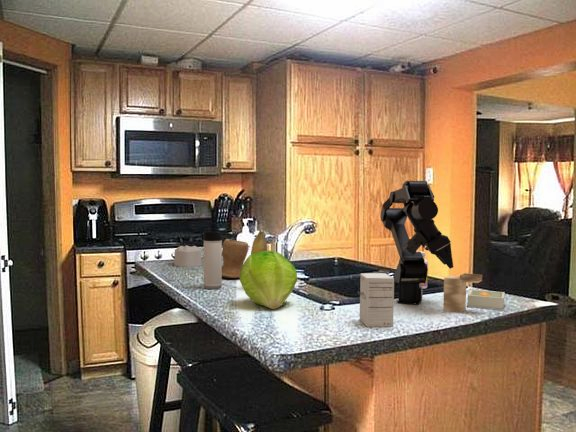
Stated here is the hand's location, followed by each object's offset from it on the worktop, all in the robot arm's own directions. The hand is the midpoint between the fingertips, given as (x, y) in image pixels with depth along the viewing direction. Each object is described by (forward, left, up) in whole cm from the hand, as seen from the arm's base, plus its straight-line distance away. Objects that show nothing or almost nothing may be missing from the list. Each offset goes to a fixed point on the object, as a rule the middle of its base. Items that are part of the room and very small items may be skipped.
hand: (448, 265), depth 157 cm
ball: (+10, +8, -10) cm, 16 cm away
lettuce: (-50, -20, -12) cm, 55 cm away
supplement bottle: (-14, +28, -12) cm, 33 cm away
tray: (+10, +8, -12) cm, 18 cm away
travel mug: (-79, -5, -12) cm, 80 cm away
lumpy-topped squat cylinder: (-118, +37, -13) cm, 125 cm away
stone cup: (-85, +18, -13) cm, 87 cm away
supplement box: (-15, -28, -12) cm, 34 cm away
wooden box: (+4, -4, -12) cm, 14 cm away
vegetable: (-64, +1, -12) cm, 65 cm away
